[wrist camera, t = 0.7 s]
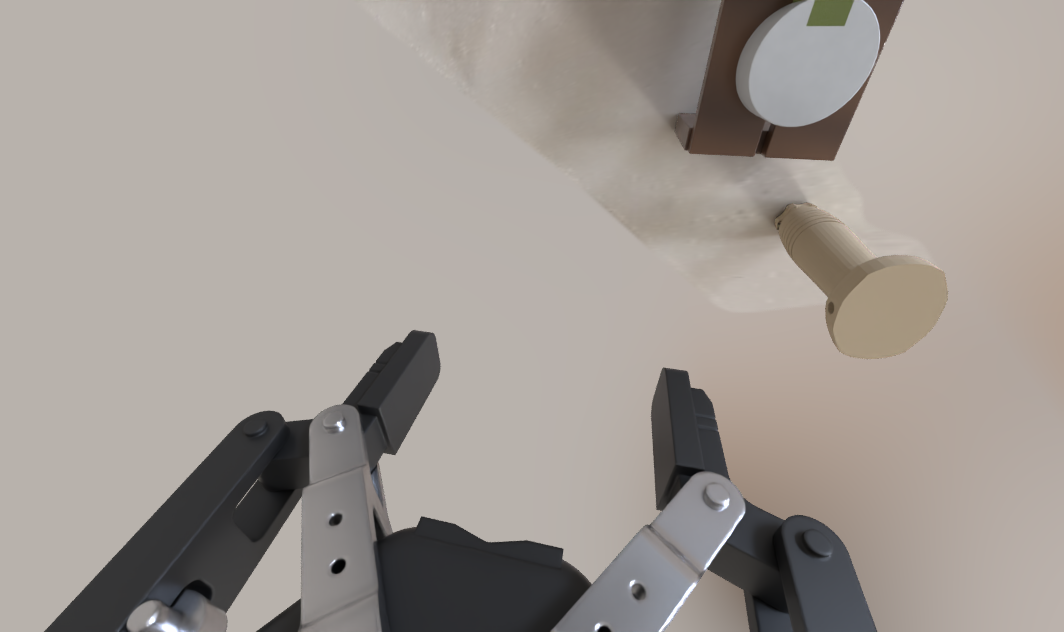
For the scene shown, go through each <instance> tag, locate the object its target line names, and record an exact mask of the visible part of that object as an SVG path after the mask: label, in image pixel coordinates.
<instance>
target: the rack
mask: <svg viewBox="0 0 1064 632" xmlns="http://www.w3.org/2000/svg"><path fill="white" fill-rule="evenodd" d="M863 1H865V2H866V3H867V4H868V5H869V6H870V7H871V8H872V10H873V11H874V13H875V15H876V17H877V20H878V23H879V29H880V44H879V50H878V54H877V58H876V60H875V63H874V66H873V68H872V70H871V72H870V74H869V76H868V77H867V79H866V81H865V82H864V84H863V85H862V86H861V88H860V89H859V90H858V92H857V93H856V94H855V95H854V96H853V97H852V98H851V99H850V100H849V101H848V102H847V103H846V104H845V105H843V106H842V107H841V108H840V109H838V110H837V111H836V112H834V113H832V114H831V115H829V116H828V117H826V118H824V119H822V120H820V121H817V122H814V123H812V124H808V125H805V126H799V127H782V126H778V125H774V124H772V123H770V122H768V121H766V120H764V119H762V118H760V117H758V116H756V115H755V114H753V113H752V112H750V111H749V110H748V109H747V108H746V107H745V106H744V105H743V103H742V102H741V100H740V98H739V95H738V93H737V88H736V70H737V65H738V61H739V58H740V55H741V53H742V50H743V48H744V46H745V45H746V43H747V41H748V39H749V38H750V37H751V35H752V34H753V32H754V31H755V30H756V29H757V28H758V26H759V25H760V24H761V23H762V22H763V21H764V20H765V19H767V18H768V17H769V16H770V15H772V14H773V13H774V12H776V11H778V10H779V9H781V8H783V7H785V6H787V5H789V4H791V3H793V0H721V5H720V9H719V14H718V18H717V22H716V27H715V31H714V36H713V40H712V45H711V49H710V53H709V58H708V62H707V67H706V71H705V76H704V80H703V85H702V89H701V93H700V98H699V102H698V107H697V111H696V114H690V113H679V114H678V117H677V122H676V127H675V133H676V135H677V137H678V139H679V141H680V142H681V144H682V146H683V148H684V150H688V151H689V153H690V154H708V155H728V156H749V157H753V156H754V155H755V154H762V155H763V156H764V157H768V158H789V159H810V160H830V161H833V160H834V159H835V156H836V154H837V152H838V149H839V147H840V145H841V143H842V140H843V138H844V136H845V134H846V131H847V129H848V127H849V125H850V122H851V120H852V118H853V115H854V113H855V111H856V109H857V106H858V104H859V102H860V99H861V97H862V95H863V93H864V90H865V88H866V86H867V84H868V81H869V79H870V77H871V75H872V72H873V70H874V68H875V66H876V63H877V61H878V59H879V56H880V54H881V52H882V50H883V47H884V45H885V43H886V41H887V38H888V36H889V33H890V31H891V29H892V27H893V25H894V22H895V20H896V18H897V16H898V13H899V11H900V9H901V6H902V4H903V2H904V0H863Z"/></svg>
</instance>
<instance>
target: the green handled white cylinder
mask: <svg viewBox="0 0 1064 632" xmlns="http://www.w3.org/2000/svg"><path fill="white" fill-rule="evenodd" d="M879 44H880V29H879V23H878V20H877V17H876V15H875V13H874V11H873V10H872V8H871V7H870V6H869V5H868V4H867V3H866V2H865V1H863V0H793V3H791V4H789V5H787V6H785V7H783V8H781V9H779V10H778V11H776V12H774V13H773V14H772V15H770V16H769V17H768V18H767V19H765V20H764V21H763V22H762V23H761V24H760V25H759V26H758V28H757V29H756V30H755V31H754V32H753V34H752V35H751V37H750V38H749V39H748V41H747V43H746V45H745V46H744V48H743V50H742V53H741V55H740V58H739V61H738V65H737V70H736V88H737V93H738V95H739V98H740V100H741V102H742V103H743V105H744V106H745V107H746V108H747V109H748V110H749V111H750V112H752V113H753V114H755V115H756V116H758V117H760V118H762V119H764V120H766V121H768V122H770V123H772V124H774V125H778V126H782V127H799V126H805V125H808V124H812V123H814V122H817V121H820V120H822V119H824V118H826V117H828V116H829V115H831V114H832V113H834V112H836V111H837V110H838V109H840V108H841V107H842V106H843V105H845V104H846V103H847V102H848V101H849V100H850V99H851V98H852V97H853V96H854V95H855V94H856V93H857V92H858V90H859V89H860V88H861V86H862V85H863V84H864V82H865V81H866V79H867V77H868V76H869V74H870V72H871V70H872V68H873V66H874V63H875V60H876V58H877V54H878V50H879Z"/></svg>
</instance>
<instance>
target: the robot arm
mask: <svg viewBox="0 0 1064 632" xmlns="http://www.w3.org/2000/svg"><path fill="white" fill-rule="evenodd" d="M439 373H440V359H439V354H438V348H437V342H436V337H435V335H434V333H430V332H423V331H416V330H413V331H411V332H410V333H409V334H408V336H407V337H406V338H405V340H404V341H403V343H401V342H396V343H395V344H393V345H392V346H390V347H389V348H387V349H386V350H384V352H383V353H382V354H381V355H380V357H379V358H378V359H377V360H376V363H374V364H373V366H372V367H371V368H370V370H369V372H367V373H366V375H365V376H364V377H363V378H362V380H361V381H360V382H359V383H358V385H357V386H356V387H355V389H354V390H353V391H352V392H351V394H350V395H349V396H348V398H347V399H346V400H345V401H344V403H343V404H341V405H335V406H332V407H329V408H327V409H325V410H323V411H322V412H320V413H319V414H318V415H317V416H316V417H315V418H314V419H310V420H300V421H290V422H285V420H284V418H283V417H282V415H281V414H280V413H278V412H275V411H263V412H259V413H256V414H253V415H251V416H249V417H247V418H246V419H244V420H243V421H241V422H240V423H239V424H238V425H237V426H236V427H235V428H234V429H233V430H232V431H231V432H230V433H229V434H228V435H227V436H226V437H225V438H224V440H223V441H222V442H221V443H220V444H219V445H218V446H217V447H216V448H215V449H214V450H213V451H212V452H211V454H209V456H208V457H207V458H206V459H205V460H204V461H203V462H202V463H201V464H200V465H199V466H198V467H197V468H196V470H195V471H194V472H193V473H192V474H191V475H190V476H189V477H188V478H187V479H186V480H185V481H184V482H183V483H182V484H181V486H180V487H179V488H178V489H177V490H176V491H175V492H174V493H173V494H172V495H171V496H170V498H169V499H167V501H166V502H165V503H164V504H163V505H162V506H161V507H160V508H159V509H158V510H157V512H155V513H154V515H153V516H152V517H151V518H150V519H149V520H148V521H147V522H146V523H145V524H144V525H143V526H142V527H141V528H140V530H139V531H138V532H137V533H136V534H135V535H134V536H133V537H132V538H131V539H130V540H129V541H128V542H127V544H126V545H125V546H124V547H123V548H122V549H121V550H120V551H119V552H118V553H117V554H116V555H115V556H114V557H113V558H112V560H111V561H110V562H109V563H108V564H107V565H106V566H105V567H104V568H103V569H102V570H101V571H100V572H99V574H98V575H97V576H96V577H95V578H94V579H93V580H92V581H91V582H90V583H89V584H88V585H87V586H86V587H85V589H84V590H83V591H82V592H81V593H80V594H79V595H78V596H77V597H76V598H75V599H74V601H72V602H71V603H70V605H69V606H68V607H67V608H66V609H65V610H64V611H63V612H62V613H61V614H60V615H59V616H58V617H57V619H56V620H55V621H54V622H53V623H52V624H51V625H50V626H49V627H48V628H47V629H46V630H45V631H44V632H226V630H227V616H226V612H227V611H228V609H229V608H230V606H231V605H232V603H233V601H234V600H235V598H236V597H237V595H238V594H239V592H240V591H241V589H242V588H243V586H244V585H245V583H246V581H247V580H248V578H249V577H250V575H251V574H252V572H253V571H254V569H255V568H256V566H257V565H258V563H259V561H260V560H261V558H262V557H263V555H264V554H265V552H266V551H267V549H268V547H269V546H270V544H271V543H272V541H273V540H274V538H275V537H276V535H277V534H278V532H279V531H280V529H281V527H282V526H283V524H284V523H285V521H286V520H287V518H288V517H289V515H290V514H291V512H292V510H293V509H294V507H295V506H296V504H297V503H298V501H299V500H300V498H301V497H302V538H301V540H302V542H301V545H302V546H301V599H299V600H298V601H297V602H295V603H294V604H293V605H291V606H290V607H289V608H287V609H286V610H285V611H283V612H282V613H281V614H279V615H278V616H276V617H275V618H274V619H272V620H271V621H270V622H268V623H267V624H266V625H264V626H263V627H262V628H260V629H259V630H258V631H256V632H664V631H665V630H666V628H667V627H668V625H669V624H670V622H671V621H672V619H673V618H674V617H675V615H676V614H677V612H678V611H679V609H680V608H681V606H682V604H683V603H684V602H685V600H686V599H687V597H688V596H689V595H690V593H691V591H692V590H693V589H694V587H695V586H696V584H697V583H698V582H699V580H700V579H701V577H702V575H703V574H704V572H705V571H706V570H707V569H708V570H710V571H711V572H713V573H715V574H717V575H718V576H720V577H722V578H724V579H725V580H727V581H729V582H731V583H732V584H734V585H736V586H738V587H739V588H741V589H743V590H744V596H745V602H746V609H747V616H748V622H749V629H750V632H877V630H876V627H875V624H874V621H873V619H872V616H871V613H870V611H869V608H868V605H867V602H866V600H865V597H864V594H863V591H862V589H861V586H860V583H859V581H858V578H857V575H856V572H855V569H854V567H853V564H852V561H851V559H850V556H849V553H848V551H847V549H846V547H845V545H844V544H843V542H842V541H841V540H840V538H839V537H838V536H837V535H836V534H835V533H834V532H833V531H832V530H831V529H830V528H828V527H827V526H825V525H824V524H823V523H821V522H819V521H817V520H816V519H813V518H810V517H807V516H803V515H795V516H791V517H788V518H787V519H786V520H783V519H780V518H778V517H776V516H774V515H772V514H770V513H768V512H766V511H764V510H762V509H760V508H758V507H756V506H754V505H752V504H751V503H750V502H748V501H747V500H746V499H745V498H743V496H742V494H741V492H740V491H739V490H738V488H737V487H736V486H735V485H734V484H733V483H732V482H731V481H730V478H729V475H728V471H727V467H726V462H725V458H724V453H723V449H722V444H721V440H720V436H719V432H718V427H717V422H716V420H715V413H714V409H713V405H712V402H711V401H710V399H709V398H708V397H707V395H706V394H705V392H704V391H703V390H702V389H695V388H691V387H690V381H689V375H688V372H687V371H683V370H676V369H670V368H663V369H662V371H661V374H660V378H659V381H658V384H657V388H656V391H655V394H654V398H653V402H652V410H651V421H652V439H653V455H654V473H655V491H656V508H657V510H661V511H662V512H661V513H660V514H659V515H658V516H657V517H656V519H655V520H654V521H653V522H652V523H651V524H650V525H645V526H644V527H643V528H642V529H641V530H640V531H639V532H638V533H637V534H636V535H635V536H634V537H633V539H632V540H631V541H630V542H629V543H628V544H627V545H626V546H625V548H624V549H623V550H622V551H621V552H620V553H619V554H618V556H617V557H616V558H615V559H614V560H613V561H612V562H611V564H610V565H609V566H608V567H607V568H606V569H605V570H604V572H603V573H602V574H601V575H600V576H599V577H598V578H597V580H596V581H595V582H594V583H593V584H591V583H590V582H589V581H588V579H587V578H586V577H585V576H584V575H583V574H582V573H581V572H580V571H579V570H577V569H576V568H575V567H573V566H572V565H571V564H569V563H568V562H566V561H564V560H562V556H563V549H562V548H558V547H553V546H549V545H544V544H540V543H536V542H531V541H509V542H492V543H491V542H486V541H484V540H482V539H480V538H478V537H476V536H475V535H473V534H471V533H469V532H468V531H466V530H464V529H463V528H461V527H459V526H457V525H456V524H452V523H448V522H443V521H439V520H435V519H431V518H426V517H421V518H420V521H419V523H418V525H417V527H412V528H407V529H403V530H400V531H397V532H395V533H393V532H392V528H391V525H390V521H389V518H388V513H387V508H386V502H385V497H384V491H383V485H382V479H381V473H380V467H379V463H378V461H379V459H380V458H381V456H382V454H383V453H387V454H392V455H395V454H396V453H397V451H398V449H399V448H400V446H401V444H402V442H403V440H404V439H405V437H406V435H407V433H408V431H409V430H410V428H411V426H412V424H413V422H414V420H415V419H416V417H417V415H418V414H419V412H420V410H421V408H422V406H423V405H424V403H425V401H426V399H427V398H428V396H429V394H430V392H431V390H432V388H433V387H434V384H435V383H436V381H437V379H438V377H439ZM257 479H258V480H257ZM256 480H257V482H256V483H255V481H256ZM254 483H255V484H254ZM253 484H254V486H253V487H252V488H251V486H252V485H253ZM250 488H251V489H250ZM249 489H250V491H249V492H248V490H249ZM247 492H248V493H247ZM246 493H247V495H246V496H245V497H244V495H245V494H246ZM243 497H244V499H243V500H242V501H241V499H242V498H243ZM240 501H241V502H240ZM239 502H240V504H239V505H238V503H239ZM237 505H238V506H237ZM236 507H237V508H236ZM235 508H236V509H235Z"/></svg>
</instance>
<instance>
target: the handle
mask: <svg viewBox="0 0 1064 632" xmlns="http://www.w3.org/2000/svg"><path fill="white" fill-rule="evenodd" d="M775 226H776V228H777V230H779V235H780V239H781V241H782V243H783V245H784V247H785V249H786V251H787V252H788V254H789V256H790V257H791V258H792V260H793V261H794V262H795V263H796V265H797V266H798V267H799V268H800V269H801V270H802V271H803V272H804V273H805V274H806V275H807V276H808V277H809V278H810V279H811V280H812V281H813V282H814V283H815V284H816V285H817V286H818V287H819V288H820V289H821V290H822V291H823V292H824V293H825V294H826V296H827V297H828V299H827V301H826V308H825V310H826V311H825V312H826V323H827V327H828V330H829V333H830V336H831V338H832V341H833V343H834V344H835V346H836V347H837V349H838V350H839V351H840V352H841V353H843V354H845V355H847V356H850V357H855V358H862V359H863V358H864V359H879V358H886V357H891V356H895V355H898V354H901V353H904V352H906V351H907V350H908V349H909V348H911V347H912V346H913V345H914V344H916V343H917V342H918V341H920V340H921V339H922V338H923V337H924V336H926V335H927V334H928V333H929V332H930V331H931V330H932V328H933V327H934V325H935V324H936V322H937V321H938V319H939V317H940V315H941V313H942V311H943V309H944V307H945V305H946V302H947V300H948V290H947V283H946V278H945V274H944V272H943V271H942V270H941V269H939V268H938V267H936V266H935V265H933V264H932V263H930V262H928V261H926V260H924V259H922V258H919V257H915V256H909V255H892V256H884V257H879V258H877V257H876V256H875V255H874V254H873V253H872V252H871V251H870V250H869V249H868V248H867V247H866V246H865V245H864V244H863V243H862V242H861V240H860V239H859V238H858V237H857V236H856V235H855V234H854V233H853V232H852V231H851V230H850V229H849V228H848V227H847V226H846V225H845V224H843V223H842V222H841V221H840V220H839V219H837V218H836V217H834V216H833V215H831V214H829V213H827V212H825V211H823V210H821V209H818V208H817V206H815V205H813V204H811V203H808V202H806V203H804V204H793V203H792V204H789V205H788V206H787V207H786V209H785V211H784V212H783V213H782V214H781V215H780V216H779V217H777V218H776V219H775Z"/></svg>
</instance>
